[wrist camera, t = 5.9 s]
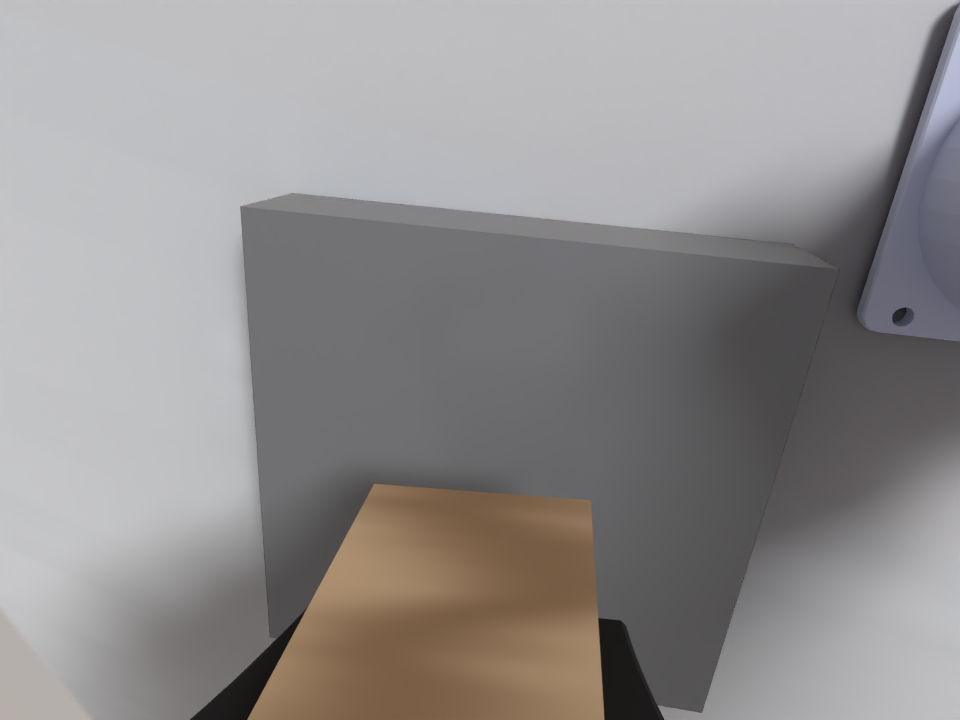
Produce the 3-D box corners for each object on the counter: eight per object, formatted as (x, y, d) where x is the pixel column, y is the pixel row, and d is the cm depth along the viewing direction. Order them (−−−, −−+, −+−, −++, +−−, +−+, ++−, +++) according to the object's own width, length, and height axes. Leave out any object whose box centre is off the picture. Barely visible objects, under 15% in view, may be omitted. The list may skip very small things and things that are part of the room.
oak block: (590, 500, 12) (610, 816, 7) (578, 666, 14) (584, 1032, 8) (374, 483, 13) (224, 761, 7) (386, 645, 14) (272, 974, 9)
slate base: (792, 244, 16) (839, 269, 13) (684, 636, 21) (701, 712, 19) (292, 193, 17) (240, 206, 15) (306, 574, 23) (269, 637, 20)
